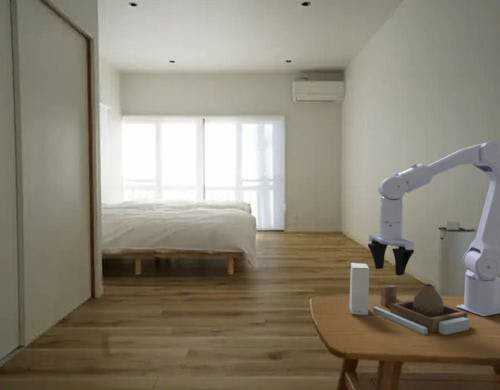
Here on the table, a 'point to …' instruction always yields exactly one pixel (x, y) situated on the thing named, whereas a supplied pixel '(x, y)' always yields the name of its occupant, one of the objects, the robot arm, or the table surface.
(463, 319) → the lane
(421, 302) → the vase
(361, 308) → the skincare box
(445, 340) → the table surface
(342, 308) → the table surface
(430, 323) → the wooden handled frame
